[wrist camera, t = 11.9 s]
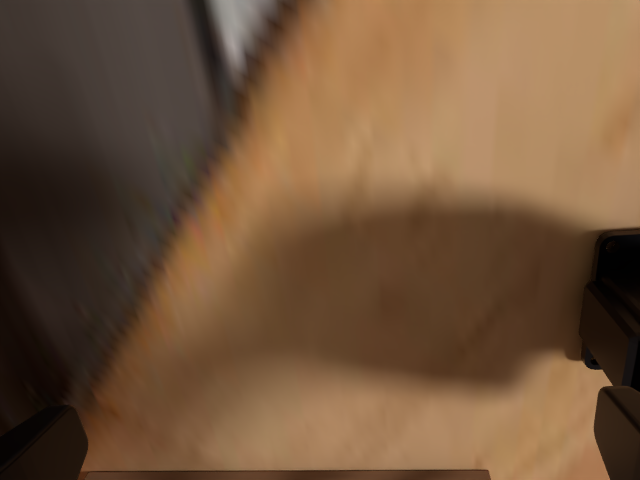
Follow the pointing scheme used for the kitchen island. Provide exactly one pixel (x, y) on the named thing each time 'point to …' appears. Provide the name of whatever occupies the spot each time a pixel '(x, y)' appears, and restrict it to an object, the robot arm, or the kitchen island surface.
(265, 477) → the double compartment tray
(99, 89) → the kitchen island surface
